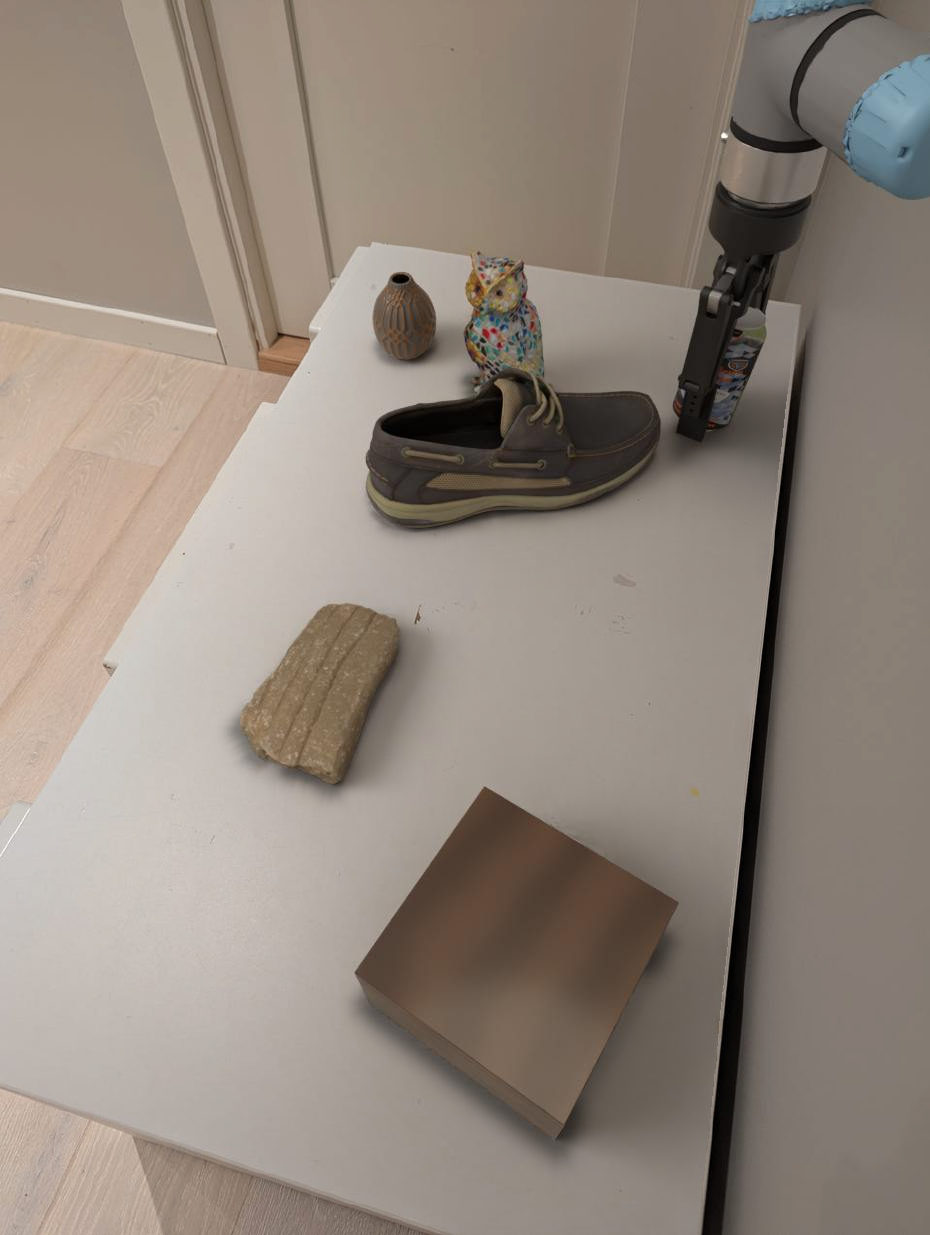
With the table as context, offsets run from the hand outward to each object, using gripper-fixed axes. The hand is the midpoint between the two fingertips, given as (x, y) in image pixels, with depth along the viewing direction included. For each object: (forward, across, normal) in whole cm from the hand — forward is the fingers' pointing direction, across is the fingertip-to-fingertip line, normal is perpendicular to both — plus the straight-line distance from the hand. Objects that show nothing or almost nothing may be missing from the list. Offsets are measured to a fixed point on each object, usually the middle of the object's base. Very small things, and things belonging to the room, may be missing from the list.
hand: (706, 412), depth 87 cm
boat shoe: (+2, +17, -12) cm, 21 cm away
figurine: (+2, +6, -20) cm, 21 cm away
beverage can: (+1, 0, 0) cm, 1 cm away
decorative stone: (+2, +46, -12) cm, 47 cm away
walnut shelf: (+2, +56, +12) cm, 57 cm away
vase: (+2, +6, -33) cm, 34 cm away
